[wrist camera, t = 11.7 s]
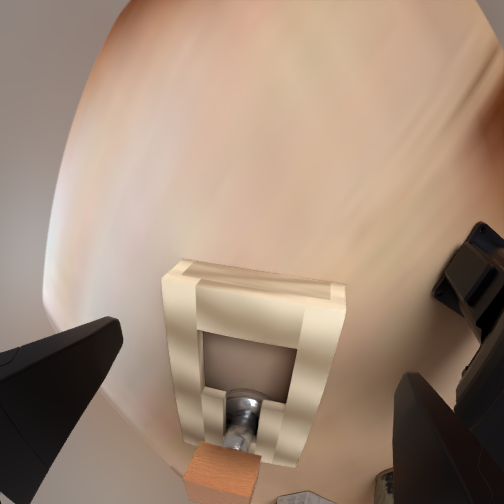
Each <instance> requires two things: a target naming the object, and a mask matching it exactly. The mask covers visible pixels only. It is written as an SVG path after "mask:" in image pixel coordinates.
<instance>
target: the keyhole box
mask: <svg viewBox="0 0 504 504" xmlns="http://www.w3.org/2000/svg"><path fill="white" fill-rule="evenodd" d="M161 283H162V295H163V305H164V315H165V325H166V333H167V342H168V350H169V357H170V364H171V371H172V378H173V385H174V391H175V397H176V403H177V409H178V414H179V420H180V425H181V430H182V435H183V440H184V442H185V443H188V444H191V445H195V446H198V445H199V443H200V441H203V442H206V443H210V444H214V445H217V446H222V444H223V441H224V438H225V436H226V433H227V431H228V428H229V424H228V423H226V391H222V390H217V389H213V388H209V387H206V386H205V377H204V357H203V333H202V331H206V332H211V333H215V334H220V335H225V336H229V337H234V338H239V339H244V340H249V341H255V342H260V343H265V344H271V345H277V346H282V347H288V348H295V349H297V354H296V359H295V364H294V369H293V374H292V379H291V383H290V388H289V393H288V397H287V402H286V404H285V403H279V402H273V401H268V400H263V403H262V407H261V412H260V419H259V426H258V432H255V433H254V436H253V439H252V443H251V446H250V449H249V452H248V453H251V454H256V455H261V456H262V458H261V462H264V463H269V464H275V465H280V466H287V467H293V468H296V466H297V463H298V461H299V458H300V456H301V453H302V450H303V448H304V445H305V443H306V440H307V437H308V434H309V432H310V429H311V426H312V423H313V421H314V418H315V415H316V412H317V409H318V406H319V403H320V400H321V397H322V394H323V391H324V388H325V385H326V381H327V378H328V375H329V372H330V368H331V365H332V362H333V358H334V355H335V351H336V348H337V344H338V341H339V337H340V333H341V329H342V326H343V322H344V318H345V314H346V298H345V285H344V284H341V283H334V282H327V281H320V280H314V279H307V278H300V277H294V276H287V275H281V274H274V273H268V272H261V271H255V270H248V269H242V268H236V267H230V266H223V265H217V264H211V263H205V262H199V261H193V260H187V259H182V260H181V261H180V262H179V263H178V264H177V265H176V266H175V267H173V268H172V269H171V270H170V271H169V272H168V273H167V274H166V275H165V276H164V277H163V278H162V279H161Z"/></svg>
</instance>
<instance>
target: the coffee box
mask: <svg viewBox="0 0 504 504" xmlns="http://www.w3.org/2000/svg"><path fill="white" fill-rule="evenodd" d="M276 504H336V503H333V502H331V501H329V500H327V499H324V498H322V497H320V496H318V495H316V494H313V493H311V492H309V491H306V492H301V493H296V494H291V495H286V496H279V497H278V499H277V503H276Z"/></svg>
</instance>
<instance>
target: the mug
mask: <svg viewBox="0 0 504 504" xmlns="http://www.w3.org/2000/svg"><path fill="white" fill-rule="evenodd" d="M393 499H394V477H393V468H390V469H387V470H384V471H383V472H381V473H379V474H378V475H377V476H376V486H375V494H374V504H393Z"/></svg>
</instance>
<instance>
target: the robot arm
mask: <svg viewBox="0 0 504 504" xmlns="http://www.w3.org/2000/svg"><path fill="white" fill-rule="evenodd" d="M481 227H483V228H484V229H483V231H482V232H480V229H481ZM440 290H442V291H441V293H439V294H437V292H438V291H440ZM433 295H434V297H435V298H436V299H437V300H439V301H440V302H442V303H443V304H445V305H446V306H448V307H449V308H451V309H452V310H454V311H456V312H457V313H459V314H460V315H462V316H463V317H465V319H466V320H467V322H468V324H469V325H470V327H471V329H472V331H473V333H474V334H475V336H476V338H477V340H478V342H479V343H480V345H481V346H480V347H479V349H478V351H477V352H476V354H475V356H474V357H473V359H472V360H471V362H470V364H469V365H468V366H466V367H465V369H464V370H463V372H462V379H461V380H460V382H459V384H458V386H457V389H456V405H455V406H454V412H455V413H454V412H453V410H452V409H451V408H450V407H449V406H448V405H447V404H446V402H445V401H444V400H443V399H442V398H441V397H440V396H439V395H438V393H437V392H436V391H435V390H434V389H433V388H432V387H431V386H430V385H429V383H428V382H427V381H426V380H425V379H424V378H423V377H422V376H421V375H420V374H419V373H418V372H405V373H404V375H403V377H402V379H401V381H400V383H399V385H398V387H397V389H396V391H395V396H394V419H393V439H392V443H393V477H394V499H393V504H504V239H502V238H501V237H500V236H499V235H498V234H497V233H496V232H495V231H494V230H493V229H492V228H490V227H489V226H488V225H487V224H486V223H484V222H478V223H477V224H476V226H475V228H474V229H473V231H472V233H471V234H470V236H469V237H468V239H467V241H466V242H465V243H463V245H462V246H461V248H460V249H459V251H458V252H457V254H456V255H455V257H454V258H453V260H452V261H451V263H450V264H449V266H448V267H447V268H446V270H445V273H444V275H443V276H442V277H441V279H440V280H439V282H438V283H437V284H436V286H435V287H434V289H433ZM122 344H123V335H122V330H121V325H120V322H119V320H118V319H116V318H113V317H109V316H107V317H104V318H101V319H98V320H95V321H92V322H90V323H87V324H84V325H81V326H78V327H75V328H72V329H69V330H67V331H64V332H61V333H58V334H55V335H52V336H49V337H47V338H44V339H41V340H38V341H35V342H32V343H29V344H26V345H23V346H21V347H17V348H14V349H11V350H8V351H5V352H2V353H0V494H1V493H3V494H4V495H5V496H6V497H7V498H9V499H10V500H11V501H12V502H14V503H15V504H30V503H31V501H32V499H33V497H34V496H35V494H36V492H37V490H38V488H39V487H40V485H41V483H42V481H43V480H44V478H45V476H46V474H47V473H48V471H49V468H50V467H51V465H52V463H53V462H54V460H55V458H56V457H57V455H58V453H59V452H60V450H61V448H62V447H63V445H64V443H65V442H66V440H67V438H68V437H69V435H70V433H71V431H72V430H73V429H74V427H75V425H76V424H77V422H78V420H79V419H80V417H81V415H82V414H83V412H84V411H85V409H86V408H87V406H88V404H89V403H90V401H91V400H92V398H93V397H94V395H95V394H96V392H97V391H98V389H99V387H100V386H101V384H102V383H103V381H104V379H105V378H106V376H107V374H108V372H109V370H110V368H111V366H112V364H113V362H114V360H115V358H116V356H117V354H118V353H119V351H120V349H121V347H122ZM0 504H1V501H0Z"/></svg>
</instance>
